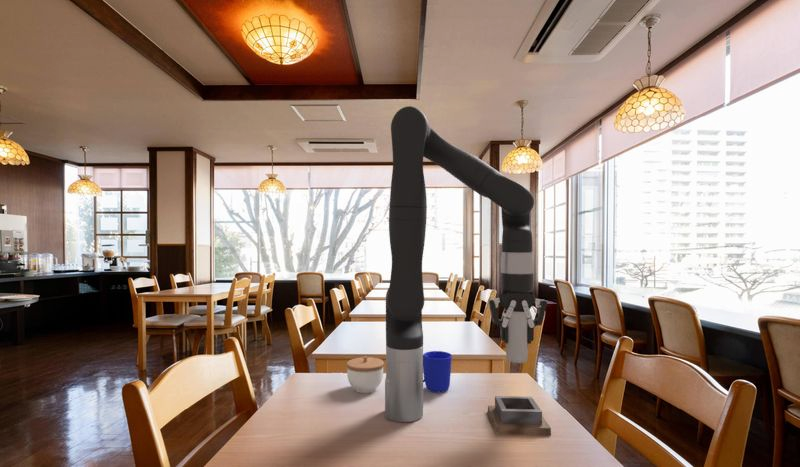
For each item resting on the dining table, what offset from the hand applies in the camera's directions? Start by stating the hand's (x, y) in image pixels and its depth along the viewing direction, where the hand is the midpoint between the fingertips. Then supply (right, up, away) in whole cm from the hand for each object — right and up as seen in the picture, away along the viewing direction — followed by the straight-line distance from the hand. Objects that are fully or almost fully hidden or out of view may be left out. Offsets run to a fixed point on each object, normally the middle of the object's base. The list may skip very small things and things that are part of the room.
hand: (516, 342), depth 100 cm
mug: (-19, -19, +22) cm, 35 cm away
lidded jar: (-38, -19, +22) cm, 48 cm away
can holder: (0, -19, 0) cm, 19 cm away
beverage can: (0, -5, 0) cm, 5 cm away
